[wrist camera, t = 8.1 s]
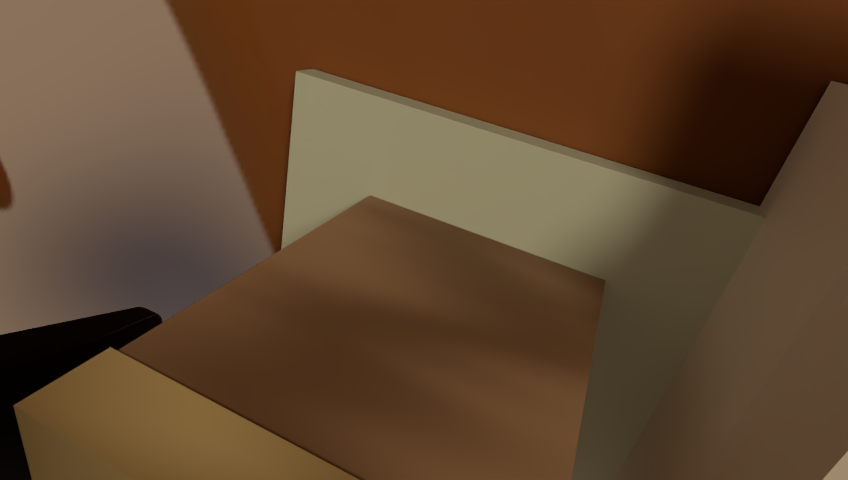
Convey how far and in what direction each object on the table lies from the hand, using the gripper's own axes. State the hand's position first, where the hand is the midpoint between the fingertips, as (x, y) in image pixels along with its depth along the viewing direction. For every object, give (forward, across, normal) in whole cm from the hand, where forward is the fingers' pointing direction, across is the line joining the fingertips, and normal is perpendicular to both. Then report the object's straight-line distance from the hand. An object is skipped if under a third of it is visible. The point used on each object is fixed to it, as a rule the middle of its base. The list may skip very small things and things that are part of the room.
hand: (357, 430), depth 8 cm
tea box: (+4, 0, 0) cm, 4 cm away
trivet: (+4, 0, 0) cm, 4 cm away
